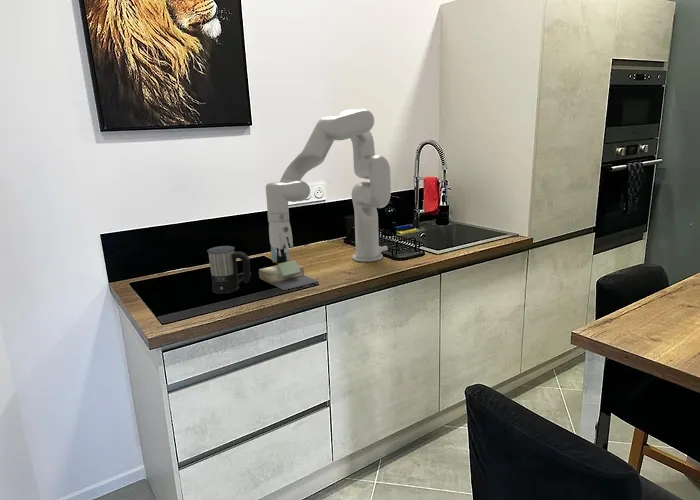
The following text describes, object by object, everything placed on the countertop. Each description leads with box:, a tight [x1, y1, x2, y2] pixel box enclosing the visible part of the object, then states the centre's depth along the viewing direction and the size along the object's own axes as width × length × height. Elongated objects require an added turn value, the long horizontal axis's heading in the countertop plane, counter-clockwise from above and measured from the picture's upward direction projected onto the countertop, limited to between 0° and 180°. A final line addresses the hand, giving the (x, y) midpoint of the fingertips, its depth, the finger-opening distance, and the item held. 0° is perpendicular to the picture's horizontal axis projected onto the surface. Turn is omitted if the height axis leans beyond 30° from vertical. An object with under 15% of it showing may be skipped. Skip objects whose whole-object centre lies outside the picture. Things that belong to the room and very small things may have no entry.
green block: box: [276, 259, 301, 279], centre depth 175 cm, size 7×5×2 cm
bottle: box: [270, 244, 290, 265], centre depth 198 cm, size 7×7×15 cm
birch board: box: [258, 263, 305, 285], centre depth 180 cm, size 14×9×4 cm, turn 126°
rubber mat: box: [270, 274, 320, 291], centre depth 172 cm, size 14×10×1 cm
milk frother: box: [206, 245, 252, 295], centre depth 170 cm, size 14×16×15 cm
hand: (282, 265), depth 178 cm, fingers closed
